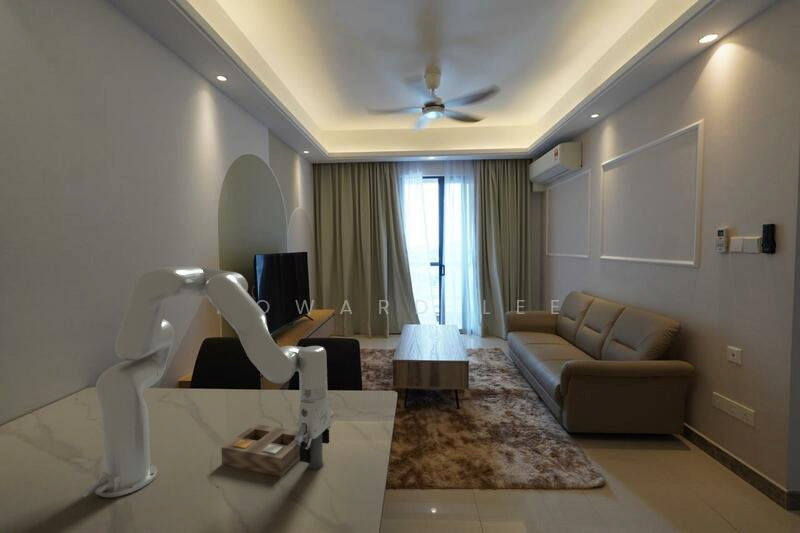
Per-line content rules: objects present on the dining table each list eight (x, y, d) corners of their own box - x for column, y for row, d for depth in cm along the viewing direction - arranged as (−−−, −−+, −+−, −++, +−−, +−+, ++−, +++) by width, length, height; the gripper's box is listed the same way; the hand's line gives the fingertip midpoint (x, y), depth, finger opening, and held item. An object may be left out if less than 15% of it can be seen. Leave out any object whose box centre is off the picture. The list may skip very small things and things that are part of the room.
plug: (318, 470, 95) (317, 438, 95) (305, 468, 97) (304, 436, 96) (325, 462, 99) (324, 431, 99) (313, 460, 100) (312, 429, 100)
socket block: (310, 448, 106) (309, 431, 106) (281, 476, 93) (281, 457, 93) (255, 439, 112) (255, 423, 112) (221, 464, 99) (221, 446, 99)
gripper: (308, 406, 88) (310, 472, 88) (340, 381, 104) (341, 438, 105) (283, 402, 90) (285, 467, 91) (317, 379, 107) (319, 434, 107)
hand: (315, 451), depth 98 cm, fingers open, 9 cm apart
